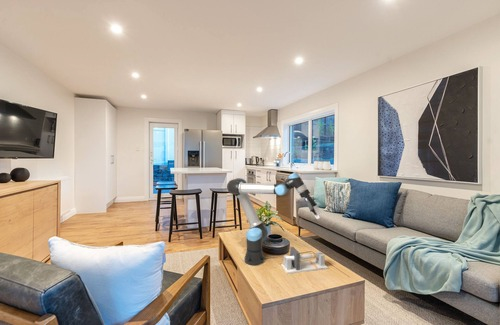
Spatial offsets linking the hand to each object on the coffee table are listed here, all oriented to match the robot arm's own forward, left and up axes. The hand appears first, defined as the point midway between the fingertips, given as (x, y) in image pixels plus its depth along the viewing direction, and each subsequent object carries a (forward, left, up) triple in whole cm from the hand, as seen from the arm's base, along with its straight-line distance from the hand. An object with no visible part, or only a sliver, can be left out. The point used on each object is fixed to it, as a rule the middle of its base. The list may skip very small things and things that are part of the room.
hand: (319, 215), depth 172 cm
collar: (-21, -5, -32) cm, 39 cm away
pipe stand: (-14, -5, -34) cm, 38 cm away
